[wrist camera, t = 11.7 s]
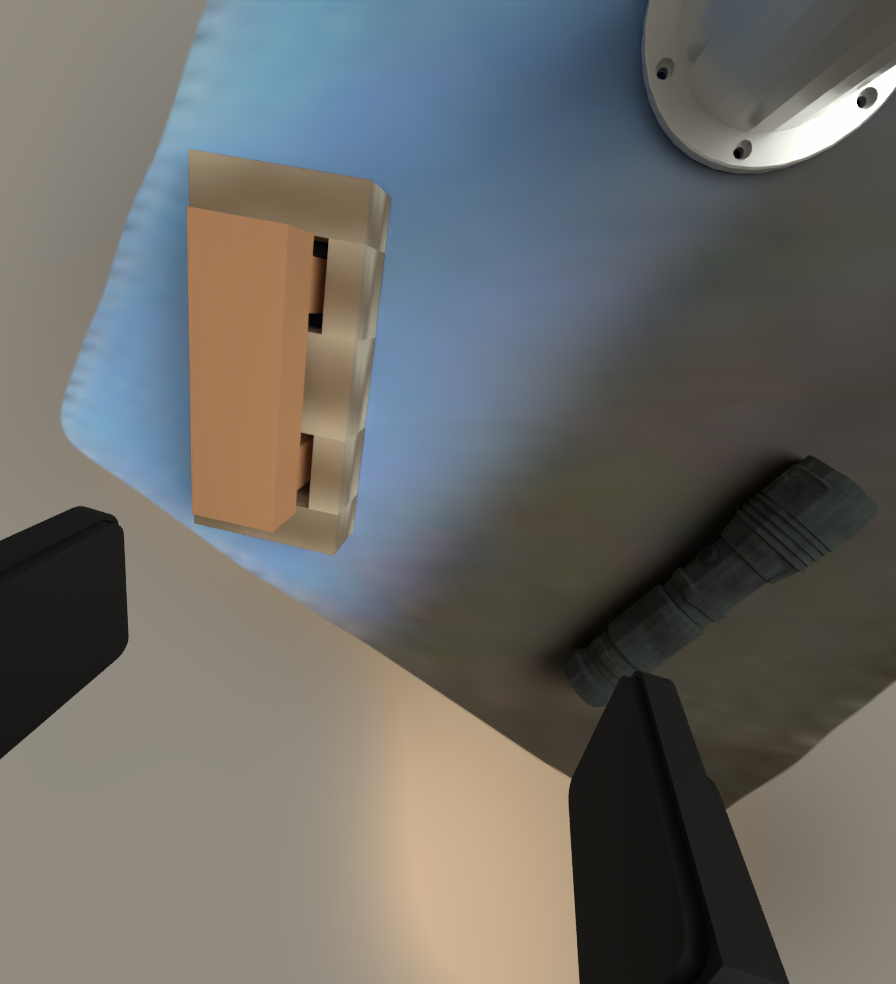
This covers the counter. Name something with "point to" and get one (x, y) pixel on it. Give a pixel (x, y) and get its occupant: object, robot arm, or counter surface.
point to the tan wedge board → (249, 364)
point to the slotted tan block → (331, 348)
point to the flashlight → (726, 574)
